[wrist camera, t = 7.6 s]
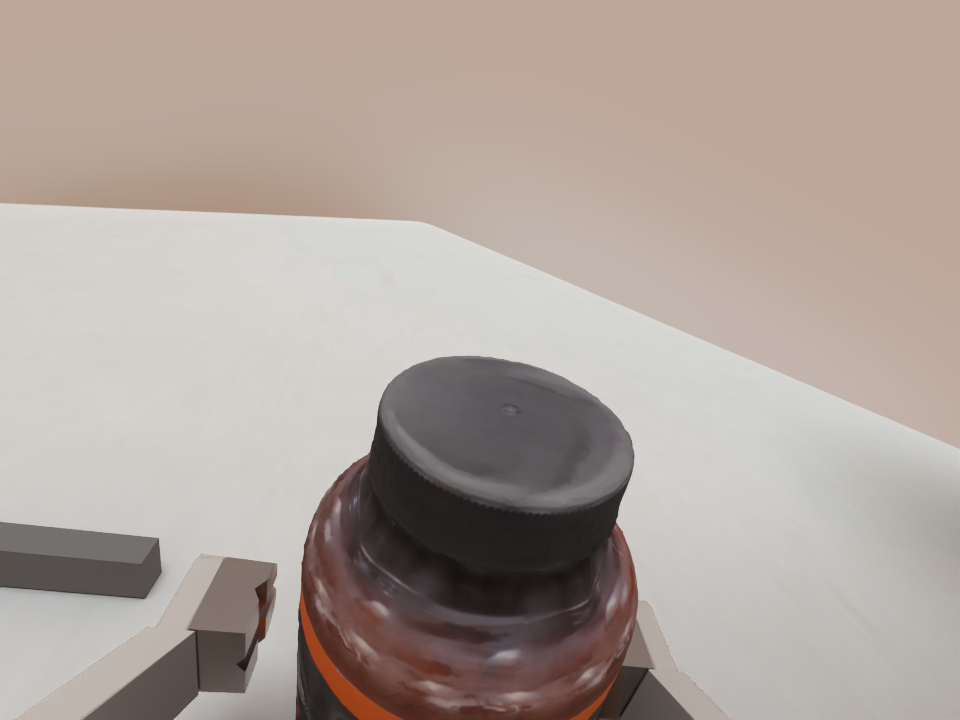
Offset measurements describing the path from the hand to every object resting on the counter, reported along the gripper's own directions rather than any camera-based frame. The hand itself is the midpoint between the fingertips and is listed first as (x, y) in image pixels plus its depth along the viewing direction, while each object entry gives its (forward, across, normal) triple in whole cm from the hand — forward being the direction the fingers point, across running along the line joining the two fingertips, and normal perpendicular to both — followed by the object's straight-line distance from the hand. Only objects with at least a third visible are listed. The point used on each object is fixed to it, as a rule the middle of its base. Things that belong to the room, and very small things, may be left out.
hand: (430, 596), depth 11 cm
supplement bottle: (-1, -1, +6) cm, 6 cm away
